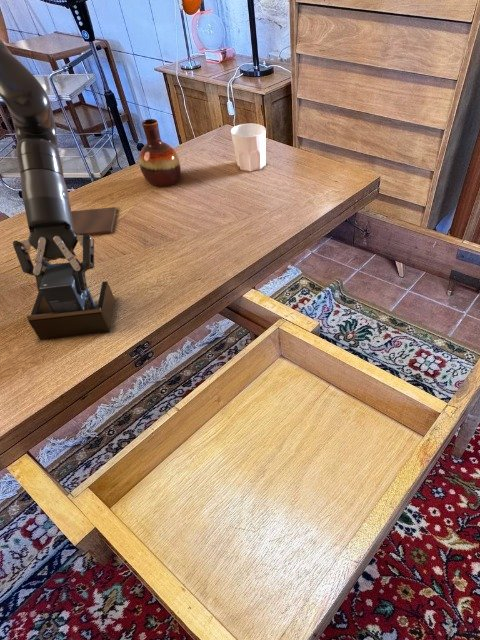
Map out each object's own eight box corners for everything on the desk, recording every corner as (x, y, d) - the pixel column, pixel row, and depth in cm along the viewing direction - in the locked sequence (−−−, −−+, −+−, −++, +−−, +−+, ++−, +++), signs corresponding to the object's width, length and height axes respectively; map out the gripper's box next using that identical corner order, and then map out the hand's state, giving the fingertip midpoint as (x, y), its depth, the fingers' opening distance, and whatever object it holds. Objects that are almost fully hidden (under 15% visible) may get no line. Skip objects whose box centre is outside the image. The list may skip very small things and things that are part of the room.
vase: (148, 173, 131) (132, 114, 119) (185, 172, 132) (173, 113, 120) (141, 190, 124) (123, 130, 112) (180, 189, 125) (167, 129, 113)
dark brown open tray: (40, 341, 86) (26, 318, 81) (51, 308, 92) (37, 285, 87) (110, 333, 87) (99, 309, 82) (115, 300, 93) (105, 277, 89)
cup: (229, 170, 132) (224, 134, 124) (244, 157, 138) (240, 121, 130) (259, 175, 129) (256, 139, 122) (273, 162, 135) (271, 126, 127)
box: (92, 329, 88) (70, 284, 79) (63, 333, 87) (37, 288, 79) (96, 304, 92) (76, 260, 84) (68, 308, 92) (45, 263, 84)
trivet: (62, 239, 109) (60, 235, 108) (70, 215, 116) (68, 211, 116) (112, 234, 110) (110, 230, 109) (116, 210, 118) (115, 207, 117)
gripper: (94, 205, 86) (109, 293, 87) (17, 212, 84) (34, 301, 86) (79, 191, 78) (96, 287, 80) (-6, 198, 77) (13, 296, 79)
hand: (63, 294), depth 83 cm, fingers closed on box, 5 cm apart
